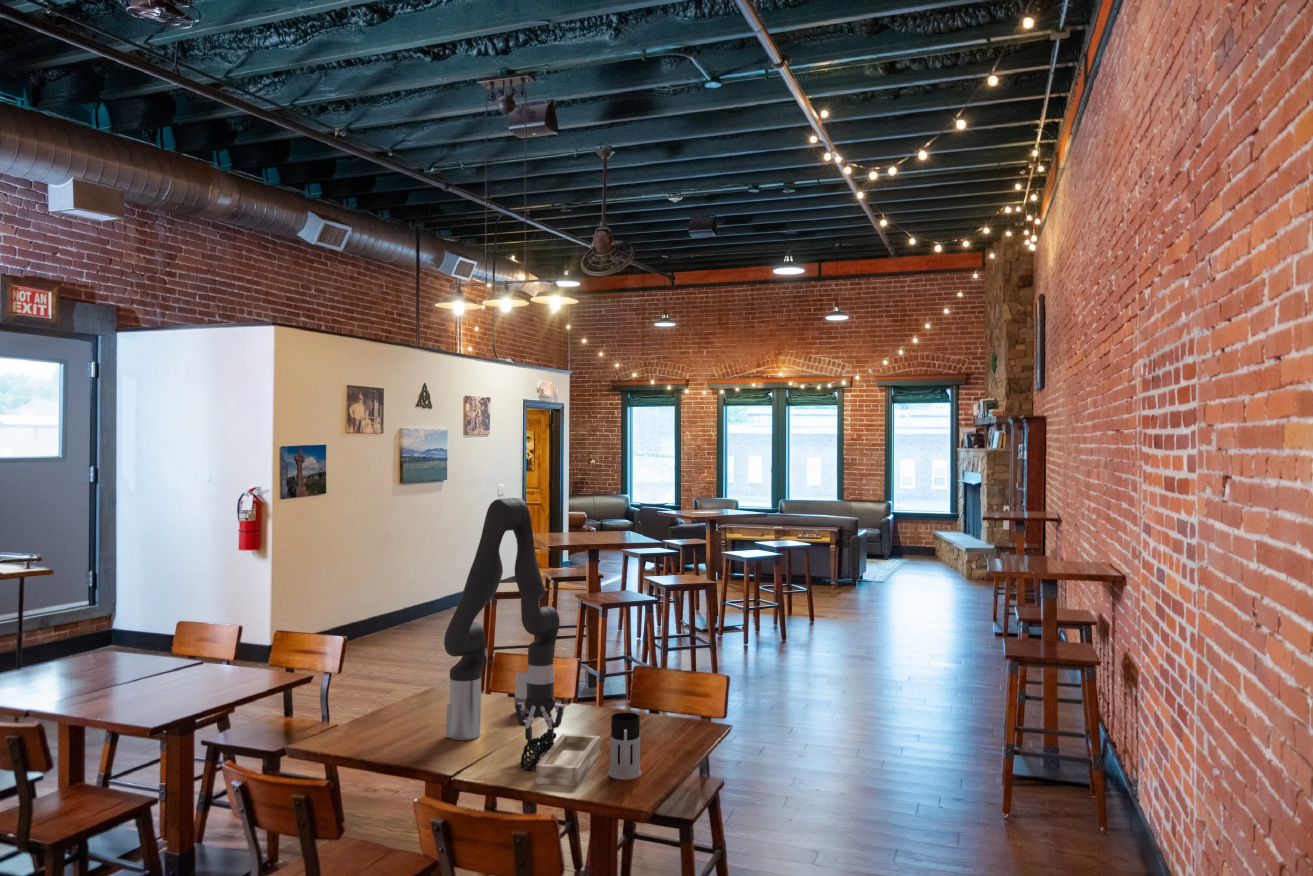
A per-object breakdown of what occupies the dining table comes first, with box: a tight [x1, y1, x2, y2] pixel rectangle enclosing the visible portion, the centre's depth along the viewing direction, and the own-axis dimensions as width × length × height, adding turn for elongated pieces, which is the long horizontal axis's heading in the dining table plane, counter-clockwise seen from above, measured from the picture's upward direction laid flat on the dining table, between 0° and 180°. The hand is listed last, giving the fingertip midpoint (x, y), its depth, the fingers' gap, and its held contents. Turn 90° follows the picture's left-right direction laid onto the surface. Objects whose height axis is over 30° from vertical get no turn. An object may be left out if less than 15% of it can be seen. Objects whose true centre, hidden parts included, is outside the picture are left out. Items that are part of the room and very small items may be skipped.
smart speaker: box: [514, 671, 530, 716], centre depth 296 cm, size 10×9×14 cm
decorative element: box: [520, 731, 557, 772], centre depth 252 cm, size 22×5×6 cm, turn 171°
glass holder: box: [608, 712, 642, 780], centre depth 238 cm, size 9×14×15 cm, turn 2°
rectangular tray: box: [535, 733, 601, 787], centre depth 245 cm, size 11×27×4 cm, turn 172°
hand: (539, 741), depth 252 cm, fingers closed on decorative element, 5 cm apart
